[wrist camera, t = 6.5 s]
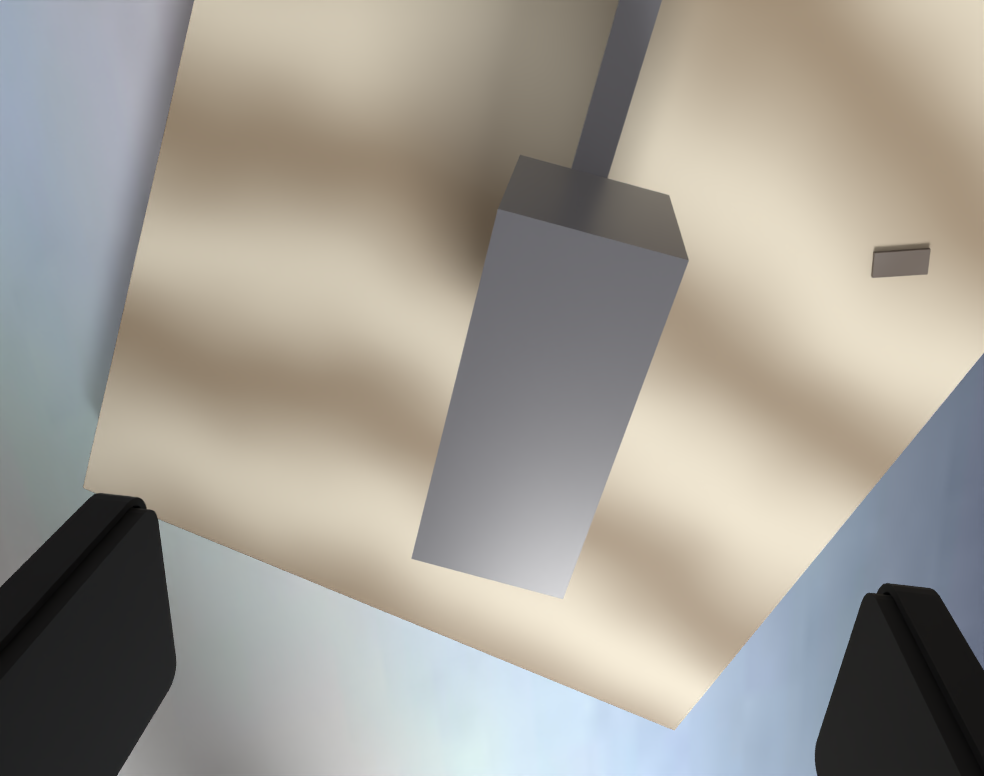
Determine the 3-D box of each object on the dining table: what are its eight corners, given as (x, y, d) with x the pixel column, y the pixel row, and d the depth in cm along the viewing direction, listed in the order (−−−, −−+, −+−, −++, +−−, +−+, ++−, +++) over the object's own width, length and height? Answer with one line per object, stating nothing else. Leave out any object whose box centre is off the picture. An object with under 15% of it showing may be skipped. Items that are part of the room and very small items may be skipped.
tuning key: (573, 424, 22) (563, 598, 16) (463, 394, 22) (411, 558, 16) (752, -115, 16) (846, -161, 10) (603, -157, 16) (605, -227, 10)
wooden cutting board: (669, 682, 29) (674, 733, 27) (116, 453, 27) (80, 490, 25) (1230, -35, 18) (1305, -35, 16) (354, -506, 16) (321, -570, 14)
